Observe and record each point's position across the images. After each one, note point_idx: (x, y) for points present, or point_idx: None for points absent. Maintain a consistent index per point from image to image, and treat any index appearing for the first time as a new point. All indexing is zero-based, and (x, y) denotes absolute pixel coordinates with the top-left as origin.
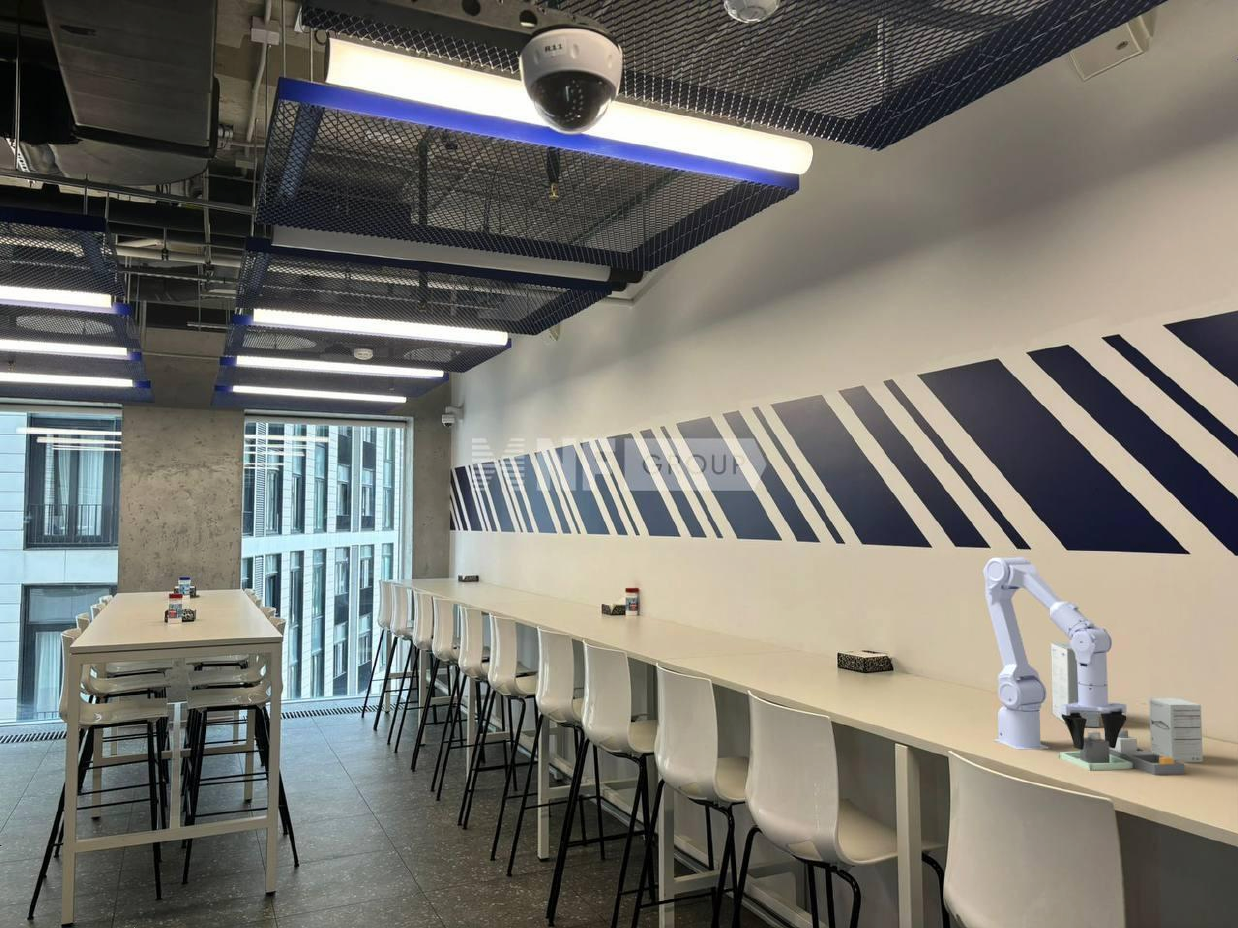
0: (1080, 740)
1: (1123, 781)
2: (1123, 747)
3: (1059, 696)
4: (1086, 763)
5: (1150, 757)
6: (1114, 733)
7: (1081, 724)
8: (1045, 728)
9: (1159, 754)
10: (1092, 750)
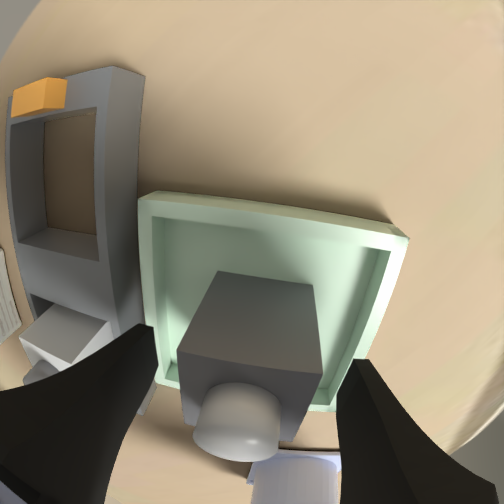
0: (392, 395)
1: (359, 55)
2: (80, 336)
3: None
4: (400, 262)
5: (36, 241)
6: (101, 379)
7: (448, 481)
8: (147, 478)
9: (9, 300)
10: (318, 333)
